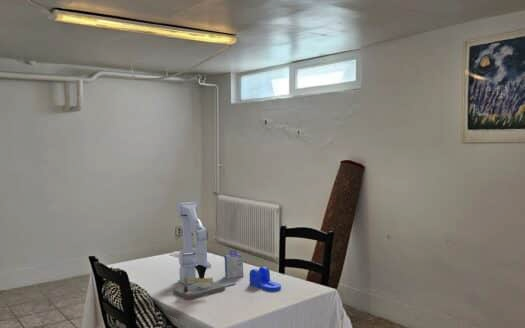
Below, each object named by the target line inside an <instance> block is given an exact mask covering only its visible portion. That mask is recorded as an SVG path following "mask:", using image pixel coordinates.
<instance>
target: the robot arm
mask: <svg viewBox="0 0 525 328" xmlns="http://www.w3.org/2000/svg"><path fill="white" fill-rule="evenodd" d="M176 209H177V217H178V218H179V219H180V220H181V228H182V240H183V243H182V244H183V248H182V249H181V250H180V251H179V253H178V256H179V257H178V264H179V270H178V271H179V272H178V273H179V279H178V280H177V281H178V282H180V283H181V284H184V278H197V274H198V278H204V277H205V274H206V271H207V270H208V269H211V268H212V264H211V263H210V262H209V261H208V248H207V247H208V246H207V241H208V239H209V231H208V229H207V228H206V227H204V225H203V223H202V221H201V220H200V219H199V218H198V216H197V215H198V214H197V212H198V203H197V202H196V201H187V202H178V203H177V208H176ZM192 233H193V234H192ZM192 235H193V236H192ZM192 237H193V238H192ZM193 243H194V245H195V246H194V247H195V248H194V247H193ZM190 284H191V285H193V284H197V282H188V285H190Z"/></svg>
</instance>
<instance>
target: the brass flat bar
mask: <svg viewBox="0 0 525 328" xmlns="http://www.w3.org/2000/svg"><path fill="white" fill-rule="evenodd" d="M212 281H213V277H208V278H199V277H196V278H184V283H183V287H184V291H188V286H189V284H188V282H196V283H199V282H212ZM213 282H214V281H213Z"/></svg>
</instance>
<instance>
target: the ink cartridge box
mask: <svg viewBox="0 0 525 328" xmlns="http://www.w3.org/2000/svg"><path fill="white" fill-rule="evenodd" d="M223 259H224V274H225V275H224V276H226V277H227V278H226V279H233V278H239V277H244V255H243V254H242V253H237V251H236V250H235V249H233V250H229V254H227V255H224V258H223Z"/></svg>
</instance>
